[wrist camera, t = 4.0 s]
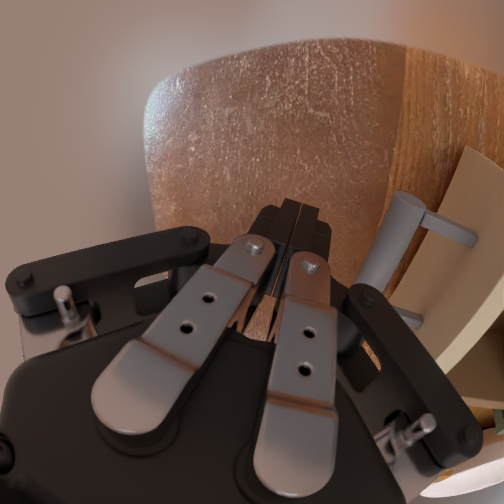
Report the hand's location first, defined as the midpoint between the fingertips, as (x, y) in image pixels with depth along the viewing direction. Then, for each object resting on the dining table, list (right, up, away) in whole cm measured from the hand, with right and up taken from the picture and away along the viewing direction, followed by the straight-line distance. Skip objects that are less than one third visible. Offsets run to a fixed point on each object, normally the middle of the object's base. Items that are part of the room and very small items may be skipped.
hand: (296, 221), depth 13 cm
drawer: (+13, -2, +2) cm, 13 cm away
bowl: (+32, -28, +14) cm, 45 cm away
